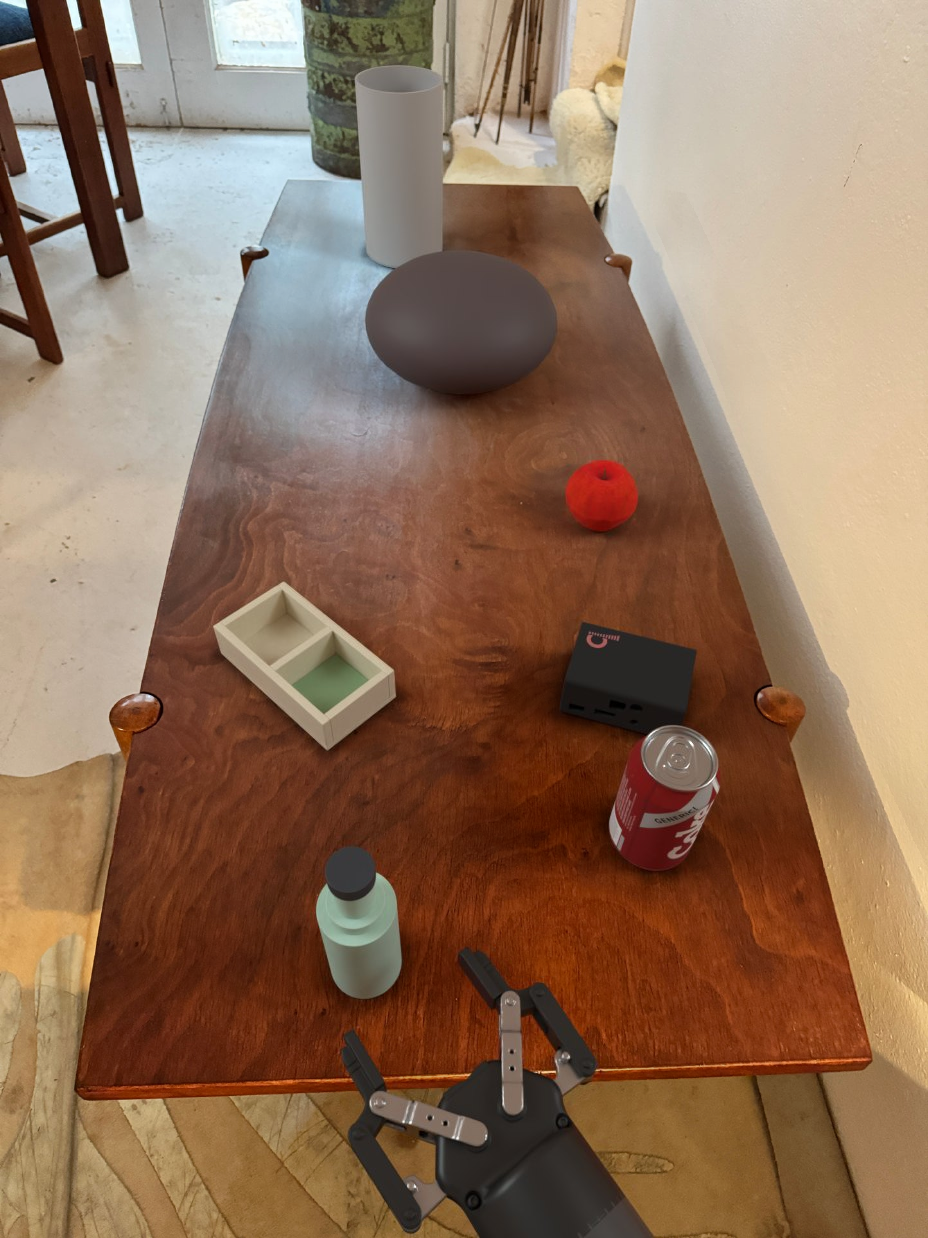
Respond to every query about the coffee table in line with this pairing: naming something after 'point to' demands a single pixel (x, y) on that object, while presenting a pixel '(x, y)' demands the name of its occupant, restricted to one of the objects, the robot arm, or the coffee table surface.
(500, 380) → the flattened ellipsoid
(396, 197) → the cylinder vase
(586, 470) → the apple
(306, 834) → the coffee table surface
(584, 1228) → the robot arm
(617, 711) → the electronic device
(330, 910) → the bottle
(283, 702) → the cream rectangular tray
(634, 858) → the soda can
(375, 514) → the coffee table surface
